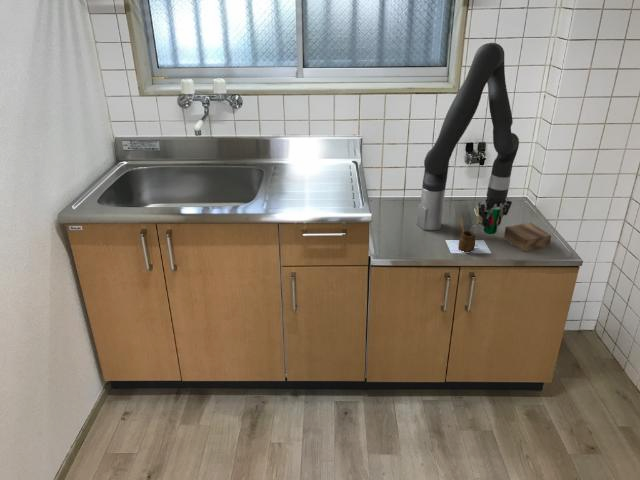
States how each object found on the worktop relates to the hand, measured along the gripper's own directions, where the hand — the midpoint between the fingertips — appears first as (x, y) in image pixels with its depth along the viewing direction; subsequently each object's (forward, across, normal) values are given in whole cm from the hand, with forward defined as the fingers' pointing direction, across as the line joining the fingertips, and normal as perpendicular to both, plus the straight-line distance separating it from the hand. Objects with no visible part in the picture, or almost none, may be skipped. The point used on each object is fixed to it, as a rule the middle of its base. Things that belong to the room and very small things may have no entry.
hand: (490, 225), depth 201 cm
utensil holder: (+6, -14, -6) cm, 17 cm away
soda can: (+3, 0, 0) cm, 3 cm away
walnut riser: (+5, +12, -8) cm, 15 cm away
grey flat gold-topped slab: (+6, +5, +15) cm, 17 cm away
